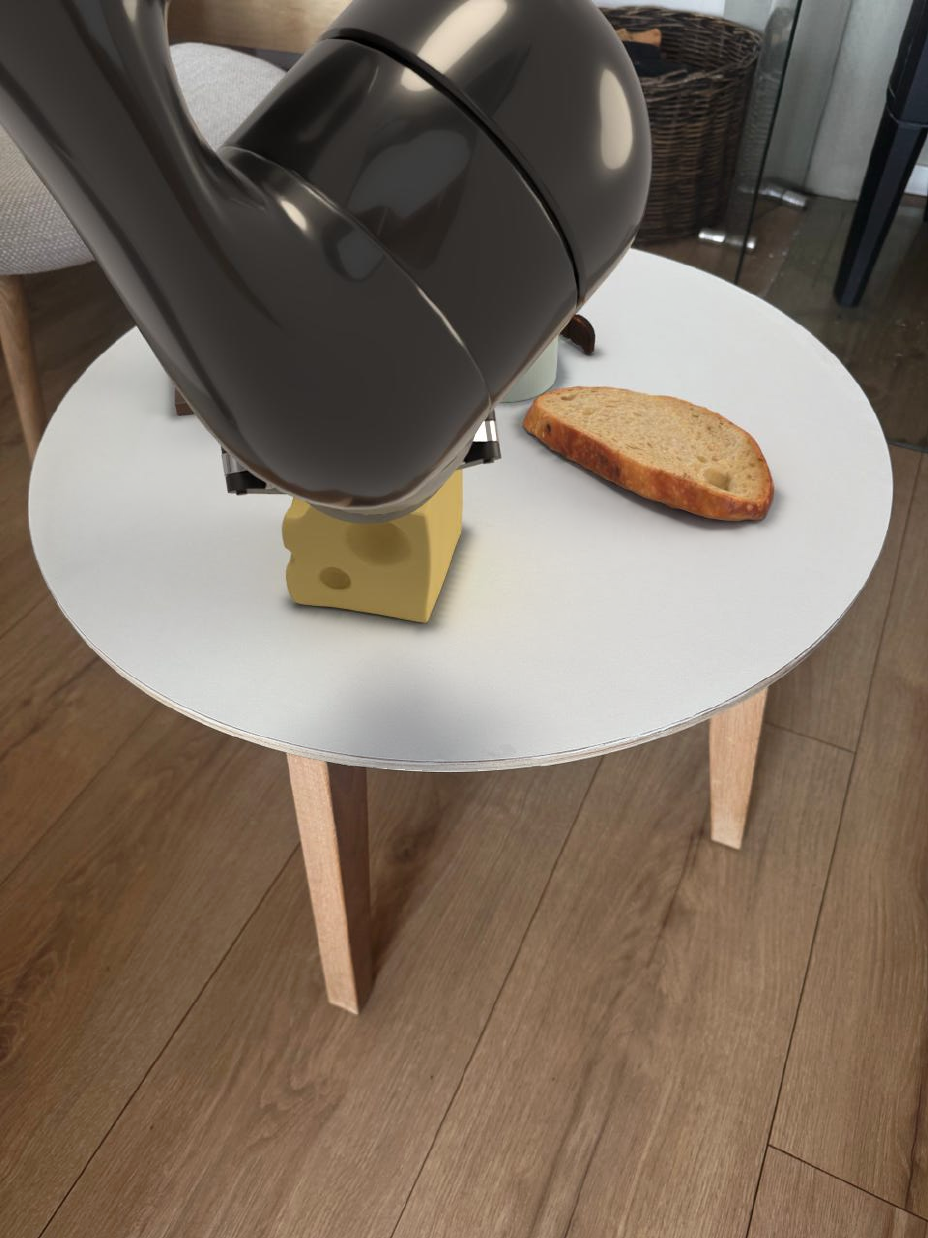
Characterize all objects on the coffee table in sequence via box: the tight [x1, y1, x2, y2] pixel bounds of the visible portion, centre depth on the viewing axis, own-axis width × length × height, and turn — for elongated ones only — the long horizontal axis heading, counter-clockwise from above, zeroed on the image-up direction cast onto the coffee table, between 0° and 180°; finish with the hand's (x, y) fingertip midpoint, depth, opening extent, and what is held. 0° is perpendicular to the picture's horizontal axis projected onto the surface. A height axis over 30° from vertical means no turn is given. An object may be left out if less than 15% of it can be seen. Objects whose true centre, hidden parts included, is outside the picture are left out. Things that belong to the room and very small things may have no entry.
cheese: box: [281, 469, 464, 624], centre depth 68 cm, size 10×11×10 cm
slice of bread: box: [522, 385, 775, 522], centre depth 79 cm, size 18×18×4 cm
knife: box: [559, 313, 596, 356], centre depth 95 cm, size 17×1×3 cm, turn 36°
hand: (357, 474), depth 53 cm, fingers closed
